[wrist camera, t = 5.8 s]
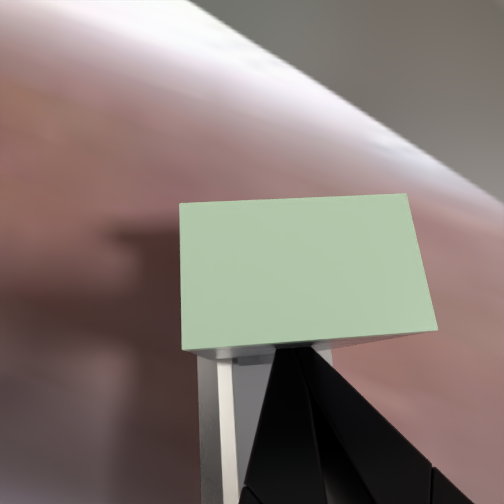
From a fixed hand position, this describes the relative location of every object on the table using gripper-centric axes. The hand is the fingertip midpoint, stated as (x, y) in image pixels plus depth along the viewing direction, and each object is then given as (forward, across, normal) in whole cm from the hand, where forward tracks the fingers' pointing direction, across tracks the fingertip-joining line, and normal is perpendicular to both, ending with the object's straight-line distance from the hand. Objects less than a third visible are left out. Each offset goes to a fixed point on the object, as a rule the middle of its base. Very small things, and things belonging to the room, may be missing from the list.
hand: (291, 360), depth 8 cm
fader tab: (+5, 0, +3) cm, 5 cm away
